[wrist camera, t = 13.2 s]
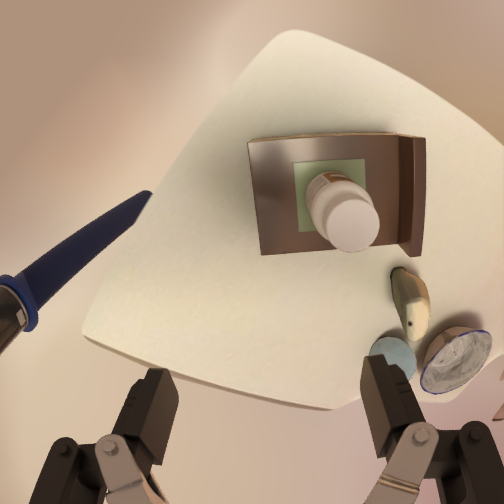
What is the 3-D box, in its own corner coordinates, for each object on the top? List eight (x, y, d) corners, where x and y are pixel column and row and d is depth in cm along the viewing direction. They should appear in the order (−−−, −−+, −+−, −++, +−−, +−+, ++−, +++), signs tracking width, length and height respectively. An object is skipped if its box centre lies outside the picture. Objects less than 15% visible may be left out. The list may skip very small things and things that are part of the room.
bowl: (404, 381, 41) (412, 402, 37) (421, 319, 36) (434, 341, 32) (465, 366, 40) (476, 384, 35) (487, 307, 35) (503, 324, 30)
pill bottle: (365, 189, 24) (400, 217, 17) (336, 230, 25) (359, 271, 18) (323, 160, 23) (345, 175, 16) (294, 203, 25) (303, 237, 18)
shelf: (263, 232, 33) (259, 271, 24) (252, 139, 29) (243, 145, 20) (387, 222, 31) (421, 256, 23) (386, 132, 27) (425, 137, 19)
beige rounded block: (369, 285, 34) (389, 324, 27) (399, 254, 32) (427, 289, 25) (395, 308, 36) (417, 348, 28) (424, 281, 34) (451, 316, 26)
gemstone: (436, 348, 34) (424, 365, 31) (407, 380, 38) (392, 397, 35) (397, 315, 39) (383, 328, 35) (373, 350, 43) (356, 364, 39)
